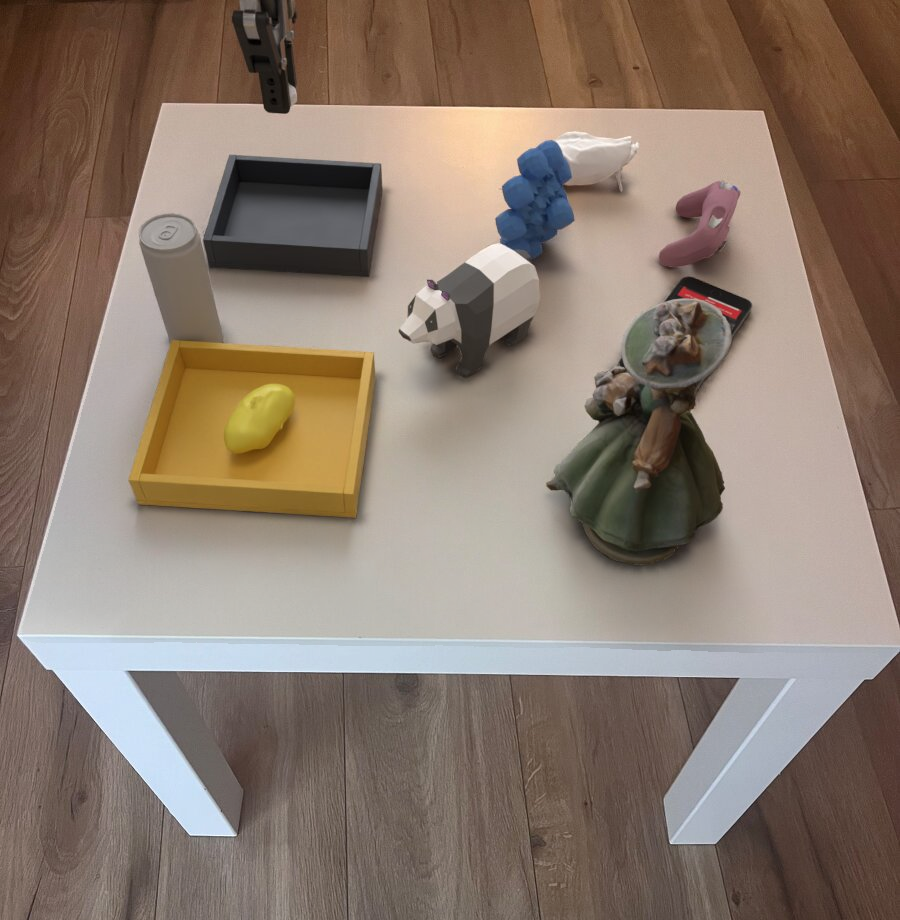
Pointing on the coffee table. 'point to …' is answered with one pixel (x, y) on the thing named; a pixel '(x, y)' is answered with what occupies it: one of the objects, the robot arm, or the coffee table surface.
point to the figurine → (649, 438)
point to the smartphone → (725, 301)
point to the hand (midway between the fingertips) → (280, 99)
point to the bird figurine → (595, 156)
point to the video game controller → (703, 224)
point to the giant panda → (476, 306)
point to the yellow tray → (285, 458)
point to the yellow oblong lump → (258, 418)
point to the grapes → (536, 200)
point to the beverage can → (180, 278)
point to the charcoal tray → (295, 216)
